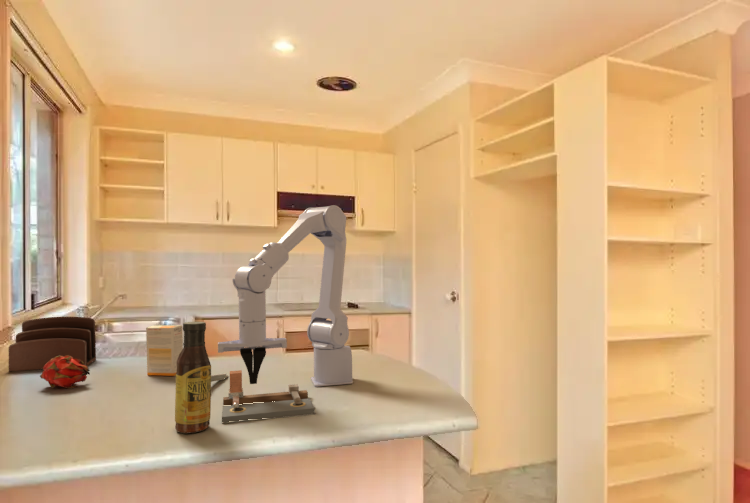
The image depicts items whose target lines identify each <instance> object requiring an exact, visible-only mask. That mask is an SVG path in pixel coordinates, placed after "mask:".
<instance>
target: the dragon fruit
mask: <svg viewBox="0 0 750 503" xmlns="http://www.w3.org/2000/svg"><path fill="white" fill-rule="evenodd" d="M81 364H82V365H81ZM90 372H91V370H90V369H89V367H88V366H85V365H84V362H83V361H81V360H80V359H73V357H71V356H69V355H66V356H64V357H63V356H61V355H59V356H56V357H55V358H52V359H51V360H50V361H49V362H47V363H46V364H45V366H44V367H43V369H42V371H41V374H40V375H39V377H40V379H43V380H45V381H46V382H48V385H49V386H50V388H51V389H53V388H57V387H62V388H66V389H74V388H77V387H78V386H77V385H74V384H76V383H81V382H82V383H83V382H85V381H86V380H87V378H88V376H87V375H90Z"/></svg>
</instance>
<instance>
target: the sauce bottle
mask: <svg viewBox="0 0 750 503" xmlns="http://www.w3.org/2000/svg"><path fill="white" fill-rule="evenodd" d="M206 329H207V322H206V321H186V322H183V323H182V332H183V350H182V351H181V352H180V354H179V356H178V359H177V372H176V375H175V397H174V398H175V399H174V400H175V403H174V404H175V405H174V406H175V407H174V422H175V425H174V426H175V431H176V432H178V433H181V434H194V433H200V432H203V431H205V430H206V429H207V428H209V427H210V420H211V410H212V408H211V405H212V404H211V400H212V382H211V375H212V364H211V361H210V358H209V355H208V353H207V352H208V351H207V348H206V341H205V338H206V337H205V336H206V335H205V334H206Z"/></svg>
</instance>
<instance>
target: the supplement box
mask: <svg viewBox="0 0 750 503" xmlns="http://www.w3.org/2000/svg"><path fill="white" fill-rule="evenodd" d="M145 330H146V332H145V336H146V365H147V366H146V367H147V368H146V373H147V376H162V377H163V376H164V377H165V376H168V377H169V376H170V377H176V372H177V359H178V356H179V354H180V352H181V351H182V350H183V348H184V345H183V343H184V336H183V324H180V325H179V324H178V325H177V324H155V325H151V326H148V327H146V328H145Z"/></svg>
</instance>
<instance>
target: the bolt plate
mask: <svg viewBox="0 0 750 503" xmlns="http://www.w3.org/2000/svg"><path fill="white" fill-rule="evenodd" d="M221 411H222V412H221V423H222V422H229V421H239V420H248V419H260V420H263V419H262V418H271V419H277V418H278V419H279V418H289V417H299V416H311V415H315V414H316V407H315V405H314V404H313V401H312V400H311V398H309V397H308V399H301V404H295V402H294V400H286V401H275V402H264V403H253V404H242V405H239V408H237V409H234V408H233V405H231V406H222V410H221Z"/></svg>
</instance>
